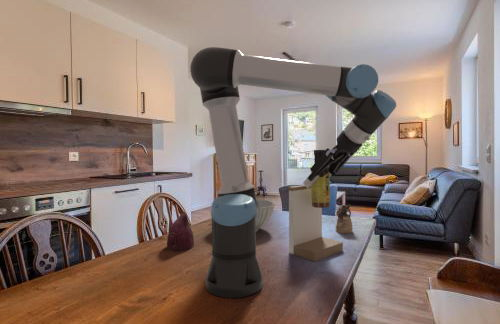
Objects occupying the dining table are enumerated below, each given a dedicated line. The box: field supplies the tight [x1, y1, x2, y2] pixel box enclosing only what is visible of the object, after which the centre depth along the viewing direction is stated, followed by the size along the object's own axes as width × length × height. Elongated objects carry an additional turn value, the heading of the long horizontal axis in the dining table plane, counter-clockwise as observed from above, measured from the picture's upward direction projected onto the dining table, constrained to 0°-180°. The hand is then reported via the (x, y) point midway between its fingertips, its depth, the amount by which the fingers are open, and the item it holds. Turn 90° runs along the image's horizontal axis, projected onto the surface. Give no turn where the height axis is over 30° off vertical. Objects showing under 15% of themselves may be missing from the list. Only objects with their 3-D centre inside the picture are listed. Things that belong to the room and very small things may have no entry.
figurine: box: [335, 203, 353, 234], centre depth 132 cm, size 7×7×12 cm
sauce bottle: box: [310, 149, 331, 209], centre depth 104 cm, size 6×6×20 cm
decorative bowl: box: [256, 198, 275, 233], centre depth 136 cm, size 27×27×12 cm
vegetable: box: [166, 211, 195, 252], centre depth 112 cm, size 10×10×15 cm
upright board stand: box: [287, 184, 344, 262], centre depth 105 cm, size 17×11×23 cm, turn 130°
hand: (312, 184), depth 106 cm, fingers closed on sauce bottle, 6 cm apart
